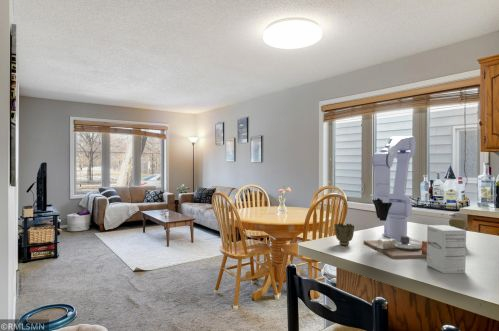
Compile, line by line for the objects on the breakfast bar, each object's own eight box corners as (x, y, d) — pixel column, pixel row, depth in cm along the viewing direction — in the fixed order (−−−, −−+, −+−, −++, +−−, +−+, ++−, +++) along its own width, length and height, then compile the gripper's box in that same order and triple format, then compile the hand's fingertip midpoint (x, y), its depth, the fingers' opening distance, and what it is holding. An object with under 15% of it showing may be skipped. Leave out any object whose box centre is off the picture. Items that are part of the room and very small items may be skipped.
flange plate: (405, 241, 120) (405, 234, 120) (429, 248, 110) (429, 240, 110) (370, 244, 115) (370, 236, 115) (391, 252, 105) (391, 244, 105)
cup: (355, 243, 121) (355, 223, 121) (353, 248, 114) (353, 227, 114) (335, 241, 124) (336, 222, 124) (332, 246, 117) (332, 225, 117)
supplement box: (425, 265, 96) (426, 225, 96) (448, 264, 96) (448, 224, 96) (442, 273, 88) (443, 230, 88) (466, 273, 89) (467, 229, 89)
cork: (469, 249, 113) (470, 220, 113) (451, 248, 115) (451, 219, 115) (461, 245, 119) (462, 217, 119) (444, 244, 121) (445, 216, 121)
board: (363, 243, 122) (363, 230, 122) (414, 241, 125) (414, 229, 125) (393, 258, 102) (393, 243, 102) (453, 256, 105) (453, 242, 105)
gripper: (367, 182, 125) (367, 215, 125) (374, 184, 111) (373, 222, 111) (386, 182, 123) (386, 216, 123) (395, 185, 109) (394, 223, 109)
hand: (381, 219), depth 117 cm, fingers open, 4 cm apart
